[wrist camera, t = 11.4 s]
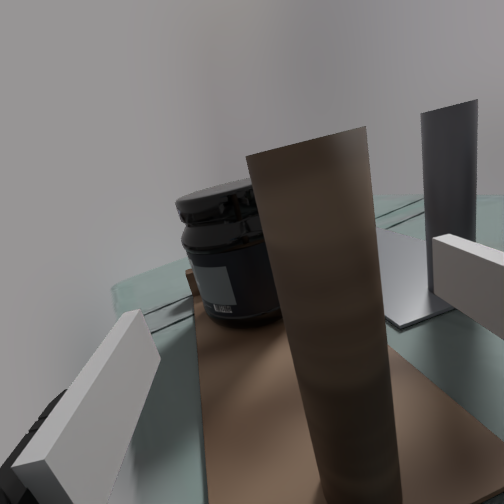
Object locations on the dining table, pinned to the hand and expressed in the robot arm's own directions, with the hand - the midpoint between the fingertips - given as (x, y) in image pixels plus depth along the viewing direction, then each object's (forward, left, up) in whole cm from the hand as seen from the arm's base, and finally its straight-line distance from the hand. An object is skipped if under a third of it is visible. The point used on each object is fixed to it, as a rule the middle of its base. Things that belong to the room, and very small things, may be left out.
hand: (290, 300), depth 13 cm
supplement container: (+15, 0, -8) cm, 17 cm away
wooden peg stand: (+9, 0, -8) cm, 12 cm away
